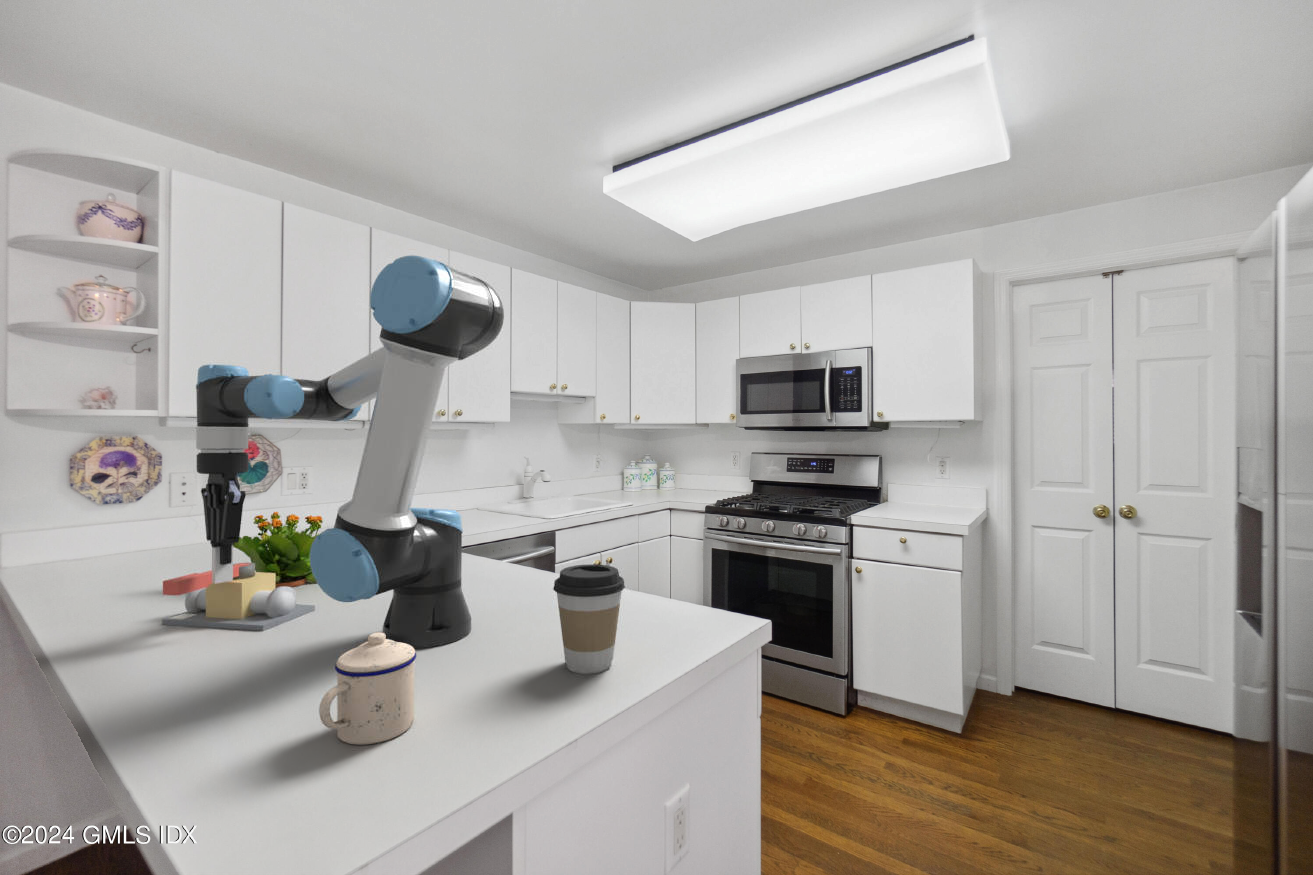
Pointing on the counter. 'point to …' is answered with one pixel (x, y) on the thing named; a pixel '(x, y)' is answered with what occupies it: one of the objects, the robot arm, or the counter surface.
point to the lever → (204, 579)
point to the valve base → (241, 605)
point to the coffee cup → (589, 615)
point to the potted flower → (282, 549)
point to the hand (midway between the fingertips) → (222, 581)
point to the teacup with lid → (372, 692)
